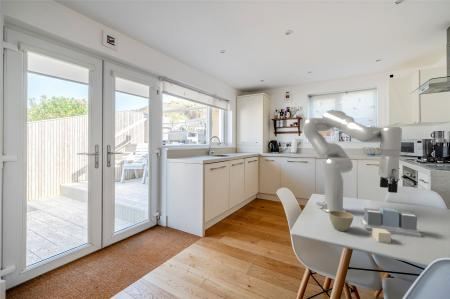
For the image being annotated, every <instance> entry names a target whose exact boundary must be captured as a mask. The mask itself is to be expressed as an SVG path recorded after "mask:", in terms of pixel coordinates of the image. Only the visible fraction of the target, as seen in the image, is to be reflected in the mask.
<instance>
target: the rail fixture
mask: <svg viewBox="0 0 450 299" xmlns="http://www.w3.org/2000/svg"><path fill="white" fill-rule="evenodd" d="M363 211H364V212H363V219H362V220H360V224H361V225H362V227H363V228H364V229H365V230H366V231H370V232H373V228H379V229H385V230H387V231H388V232H390V233H391V235H392V234H393V235H401V236H410V237H417V238H422V233H420V231H419V229H418V227H417V226H418V216H416V215H415V214H413V213H411V212H409V211H400V210H399V211H398V210H397V211H398V212H399V228H397V227H389V226H382V225H381V213H380V212H379V210H378V209H377V208H370V207H369V208H367V207H364V210H363Z"/></svg>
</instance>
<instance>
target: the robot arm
mask: <svg viewBox="0 0 450 299" xmlns="http://www.w3.org/2000/svg"><path fill="white" fill-rule="evenodd" d="M334 128H335V129H337V130H340V131H342V132H343V133H344V134H345V135H347V136H348V137H349V138H352V139H354V140H357V141H359V142H362V143H380V145H379V157H380V158H379V163H378V164H379V165H378V172H377V173H378V176H379V178H380V179H379V187H380V188H382V189H383V188H385V189H387V192H388V193H392V194H397V193H398V187H399V186H398V185H399V178H400V159H399V158H401V157H402V156H401V154H402V137H403V135H402V134H403V129H402V127H400V126H384V127H379V126H366V125H363V124H361V123H357V122H355V119H354V117H352V116H350V115H347V114H346V113H345V112H344V111H342V110H336V109H335V110H333V109H329V110H327V111H325V112H324V113H323V114H322V117H310V118H307V119H306V120H305V121H304V123H303V129H302V130H303V134H304V136H305V137H306V139H307V140H308V142H309V143H310V144H311V146H312V147H313V149H314V151H315V152H316V154H317V155H318V157H319V158H320V159H325V161H324V163H323V172H324V200H323V201H321V202H320V201H316V203H315V204H316V206H318V207H321V210H322V211H323V212H325V213H328V214H329V212H330V211H343V212H347V211H346V208H344V178H343V175H342V174H344V173H345V174H346V173H349V172H351V171H352V169H353V168H354V167H353V161H352V160H351V158H350V157H349V155H348V154H347V153H346V151H345V150H344V148H342V146H341V145H339V144H338V143H333V142H331V143H330V142H328V141H327V139H325V137H324V136H323V135H322V134H321V133H320V132H327V131H330V130H333V129H334Z"/></svg>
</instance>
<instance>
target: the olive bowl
mask: <svg viewBox="0 0 450 299" xmlns="http://www.w3.org/2000/svg"><path fill="white" fill-rule="evenodd" d="M328 216H329V220H330V222H331V225H332V227H333V228H334V229H335V230H337V231H338V232H339V231H340V232H346V231H347V230H348V229H349V228H350V227H351V225H352V223H353V221H354V215H353V214H351V213H349V212H347V211H346V212H343V211H330V212H329V213H328Z"/></svg>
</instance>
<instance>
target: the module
mask: <svg viewBox="0 0 450 299" xmlns="http://www.w3.org/2000/svg"><path fill="white" fill-rule="evenodd" d="M378 211H379V212H380V213H381V225H382V226H389V227H397V228H399V212H398V210H396V209H394V208H387V207H386V208H385V207H379V210H378Z"/></svg>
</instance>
